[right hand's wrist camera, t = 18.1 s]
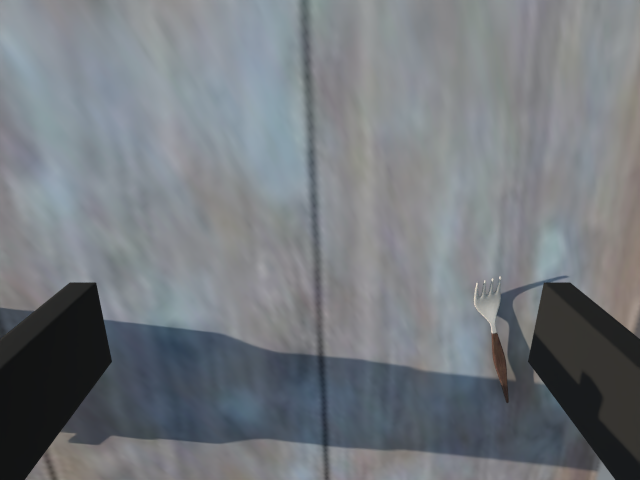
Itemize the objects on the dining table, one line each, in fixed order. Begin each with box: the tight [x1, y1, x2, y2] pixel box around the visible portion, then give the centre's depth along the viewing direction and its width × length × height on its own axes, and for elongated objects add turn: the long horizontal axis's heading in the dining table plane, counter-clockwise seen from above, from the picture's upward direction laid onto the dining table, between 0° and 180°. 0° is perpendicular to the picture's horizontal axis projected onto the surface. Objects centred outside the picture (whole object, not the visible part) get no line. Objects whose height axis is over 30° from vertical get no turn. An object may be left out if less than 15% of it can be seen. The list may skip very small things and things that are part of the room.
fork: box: [474, 276, 509, 403], centre depth 43 cm, size 3×16×2 cm, turn 17°
